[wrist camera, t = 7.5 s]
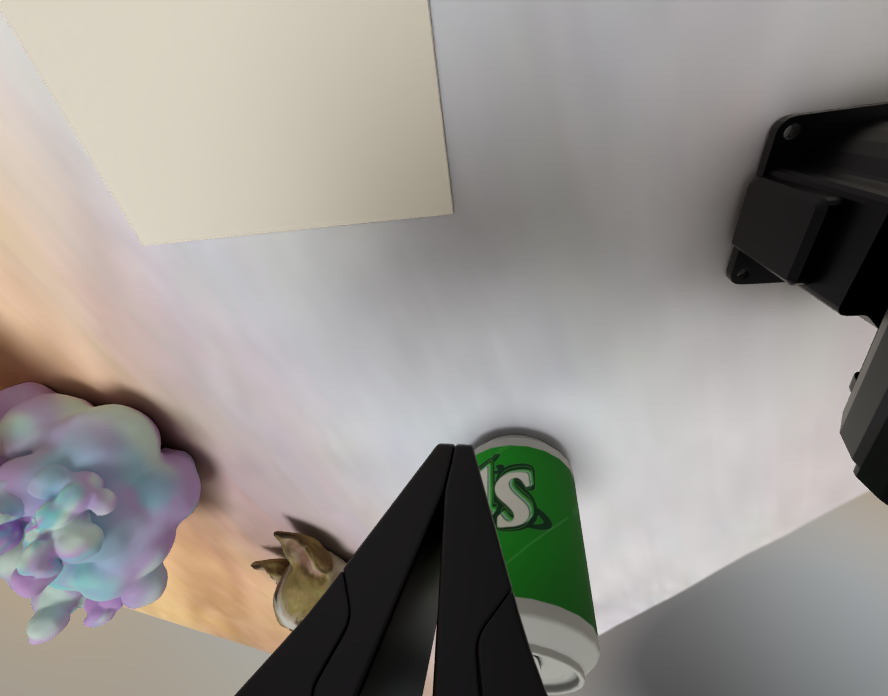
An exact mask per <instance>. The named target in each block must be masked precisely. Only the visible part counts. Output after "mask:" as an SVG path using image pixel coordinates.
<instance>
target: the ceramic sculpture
mask: <svg viewBox="0 0 888 696" xmlns="http://www.w3.org/2000/svg"><path fill="white" fill-rule="evenodd" d="M274 536H275V537H276V539H278V540H279V542H280V543H281V545H282V549H283V554H284V556H285V558H286V559H268V560H262V561H256V562H254V563H252V564H251V567H253V568H254V569H256V570H265V571H266V572H267V573H268V574H269V575H270V577H271V578H272V579H274V580H276V584H277V587H276V590H275V593H274V597H273V607H274V611H275V615H276V618H277V621H278V622H279V624H280V625H281V626H282V627H285V628H289V630H290V631H293V630H294V629H295V628H296V627H297V626H298V624H299V623H300V622H301V621H302V620H303V619H304V618H305V616H306V615H307V614H308V613H309V612H310V610H311V609H312V608H313V607H314V605H315V604H316V603H317V602H318V600H319V599H320V598H321V597H322V595H323V594H324V593H325V592H326V590H327V589H328V588H329V586H330V585H331V584H332V582H333V581H334V580H335V578H336V577H337V576H338V574H339V573H340V572H342V571H343V572H344V570H343V569H344V567H345V566H346V564H347V563H346V562H345V561H343V560H342V559H341V558H340V557H338V556H337V555H335V554H334V553H332V552H330V551H328V550H326V549H325V548H324V547H323V546H322V544H321V543H320V542H319V541H318V540H317V539H315V538H313V537H311V536H308V535H304V534H300V533H291V532H283V531H276V532H274Z"/></svg>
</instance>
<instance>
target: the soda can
mask: <svg viewBox="0 0 888 696" xmlns="http://www.w3.org/2000/svg"><path fill="white" fill-rule="evenodd" d="M474 452H475V455H476V459H477V462H478V466H479V470H480V473H481V477H482V481H483V484H484V488H485V491H486V495H487V499H488V502H489V506H490V509H491V513H492V517H493V520H494V524H495V527H496V531H497V535H498V538H499V542H500V545H501V549H502V553H503V556H504V560H505V563H506V567H507V571H508V574H509V578H510V581H511V585H512V590H513V593H514V595H515V599H516V602H517V606H518V610H519V613H520V617H521V620H522V623H523V626H524V630H525V633H526V636H527V639H528V643H529V646H530V649H531V652H532V654H533V657H534V660H535V663H536V665H537V668H538V671H539V673H540V676H541V679H542V681H543V684H544V687H545V689H546V692H547V694H548V695H561V694H566V693H571V692H575V691H577V690H578V689H580V688H582V687H583V684H584V682H585V676H586V675H587V674H588V673H589V671H591V669H592V668H593V667H594V666H595V665H596V663H597V661H598V658H599V655H600V647H599V640H598V633H597V627H596V620H595V614H594V607H593V601H592V594H591V587H590V581H589V574H588V568H587V561H586V555H585V548H584V542H583V535H582V528H581V522H580V515H579V509H578V502H577V496H576V489H575V482H574V476H573V472H572V469H571V467H570V464H569V462H568V460H567V459H566V458H565V457H564V456H563V455H562V454H561V453H560V452H559V451H557V450H556V449H554V448H552V447H550V446H549V445H548V444H546V443H544V442H543V441H541V440H539V439H537V438H533V437H529V436H526V435H505V436H499V437H496V438H494V439H492V440H490V441H488V442H486V443H485V444H483V445H481V446H479V447H477V448H476V449H475V450H474Z"/></svg>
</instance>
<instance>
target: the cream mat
mask: <svg viewBox="0 0 888 696" xmlns="http://www.w3.org/2000/svg"><path fill="white" fill-rule="evenodd" d="M0 10H1V12H2V14H3V15H4V17H5V18H6V20H7V22H8V23H9V25H10V27H11V28H12V30H13V32H14V33H15V35H16V37H17V38H18V40H19V42H20V43H21V45H22V47H23V48H24V50H25V52H26V53H27V55H28V57H29V58H30V60H31V62H32V63H33V65H34V67H35V68H36V70H37V72H38V73H39V75H40V77H41V78H42V80H43V81H44V83H45V85H46V86H47V88H48V90H49V91H50V93H51V95H52V96H53V98H54V100H55V101H56V103H57V105H58V106H59V108H60V110H61V111H62V113H63V115H64V116H65V118H66V120H67V121H68V123H69V125H70V126H71V128H72V130H73V131H74V133H75V135H76V136H77V138H78V140H79V141H80V143H81V144H82V146H83V148H84V149H85V151H86V153H87V154H88V156H89V158H90V159H91V161H92V163H93V164H94V166H95V168H96V169H97V171H98V173H99V174H100V176H101V178H102V179H103V181H104V183H105V184H106V186H107V188H108V189H109V191H110V193H111V194H112V196H113V198H114V199H115V201H116V203H117V204H118V206H119V207H120V209H121V211H122V212H123V214H124V216H125V217H126V219H127V221H128V222H129V224H130V226H131V227H132V229H133V231H134V232H135V234H136V236H137V237H138V239H139V241H140V242H141V244H142V246H144V245H154V244H164V243H174V242H184V241H193V240H203V239H213V238H223V237H233V236H243V235H253V234H263V233H272V232H282V231H292V230H302V229H312V228H322V227H332V226H342V225H351V224H361V223H371V222H381V221H391V220H401V219H411V218H421V217H430V216H440V215H450V214H453V213H454V211H453V202H452V194H451V185H450V177H449V169H448V160H447V152H446V143H445V135H444V126H443V118H442V109H441V101H440V92H439V84H438V75H437V67H436V58H435V50H434V41H433V33H432V24H431V16H430V7H429V0H0Z"/></svg>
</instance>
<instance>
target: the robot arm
mask: <svg viewBox="0 0 888 696" xmlns="http://www.w3.org/2000/svg"><path fill="white" fill-rule="evenodd" d="M792 124H793V125H794V130H793V132H792V133H791V135H789V136H788V137H787V138H784V137H783V136H784V131H785V130H786V128H787V127H789V126H790V125H792ZM732 244H733V245H734V246H735V247H734V250H733V253H732V257H731V260H730V263H729V266H728V269H727V277H728V278H729V279H730V280H731V281H732V282H734V283H735V284H758V283H777V282H786V283H788V284H789V285H798V286H799V287H801V288H802V289H804V290H805V291H806V292H808V293H809V294H811V295H812V296H814V297H815V298H817V299H818V300H820V301H821V302H823V303H824V304H826V305H827V306H829V307H830V308H832V309H833V310H835V311H836V312H838V313H839V314H840V315H844V316H859V317H861V318H863V319H864V320H866V321H867V322H869V323H870V324H872V325H873V326H875V327H876V328H878V330H877V333H876V335H875V337H874V340H873V342H872V344H871V347H870V349H869V351H868V354H867V356H866V358H865V361H864V363H863V365H862V368H861V370H860V372H856V373H855V374H854V376H853V378H852V380H851V383H850V385H849V388H850V390H851V395H850V397H849V399H848V401H847V404H846V406H845V408H844V411H843V415H842V421H841V428H840V434H841V436H842V439H843V441H844V443H845V445H846V447H847V449H848V451H849V453H850V456H851V458H852V459H853V461H854V462H855V463H856V466H855V467H854V471H853V472H854V474H855V476H856V477H857V478H858V479H859V480H860V481H861V482H862V483H863V484H864V485H865V486H866V487H867V488H868V489H869V490H870V491H871V492H872V493H873V494H874V495H875V496H877V498H879V499H880V500H881V501H882V502H884V503H885V504H887V505H888V102H884V103H877V104H869V105H862V106H854V107H847V108H839V109H832V110H824V111H817V112H809V113H802V114H794V115H789V116H786V117H783V118H782V119H780V120H779V121H777V123H776V124H775V125H774V126H773V127H772V129H771V131H770V134H769V137H768V140H767V143H766V147H765V150H764V153H763V156H762V159H761V163H760V166H759V169H758V172H757V176H756V178H755V179H754V180H753V181H752V182H751V183H750V184H749V187H748V191H747V194H746V197H745V200H744V204H743V207H742V210H741V214H740V217H739V220H738V224H737V227H736V230H735V233H734V237H733V240H732ZM742 269H746V271H745V273H743V274H742V275H739V276H737V274H738V273H739V271H741V270H742ZM343 570H344V572H343V571H342V572H340V573H339V574H338V576H337V577H336V578H335V580H334V581H333V582H332V584H331V585H330V586H329V588H328V589H327V590H326V592H325V593H324V594H323V595H322V597H321V598H320V599H319V600H318V602H317V603H316V604H315V605H314V607H313V608H312V609H311V610H310V612H309V613H308V614H307V615H306V616H305V618H304V619H303V620H302V621H301V622H300V623H299V624H298V626H297V627H296V628H295V629H294V630H293V631H292V632H291V634H290V635H289V636H288V637H287V638H286V639H285V640H284V642H283V643H282V644H281V645H280V646H279V647H278V648H277V649H276V650H275V651H274V653H273V654H272V655H271V656H270V657H269V658H268V659H267V660H266V661H265V663H264V664H263V665H262V666H261V667H260V668H259V669H258V670H257V671H256V672H255V674H254V675H253V676H252V677H251V678H250V679H249V680H248V681H247V682H246V683H245V684H244V686H243V687H242V688H241V689H240V690H239V691H238V692H237V693H236V695H235V696H422V695H423V690H424V685H425V680H426V675H427V670H428V665H429V660H430V655H431V650H432V645H433V640H434V635H435V630H436V625H437V630H436V647H435V664H434V681H433V696H548V694H547V692H546V689H545V687H544V684H543V681H542V679H541V676H540V673H539V671H538V668H537V665H536V663H535V660H534V657H533V654H532V652H531V649H530V646H529V643H528V639H527V636H526V633H525V630H524V626H523V623H522V620H521V617H520V613H519V610H518V606H517V602H516V599H515V595H514V593H513V590H512V585H511V581H510V578H509V574H508V571H507V567H506V563H505V560H504V556H503V553H502V549H501V545H500V542H499V538H498V535H497V531H496V527H495V524H494V520H493V517H492V513H491V509H490V506H489V502H488V499H487V495H486V491H485V488H484V484H483V481H482V477H481V473H480V470H479V466H478V462H477V459H476V455H475V452H474V448H473V446H472V445H465V444H457V445H456V446H455V445H454V444H438V445H437V446H436V447H435V448H434V450H433V451H432V452H431V454H430V455H429V456H428V458H427V459H426V460H425V462H424V463H423V464H422V466H421V467H420V468H419V470H418V471H417V472H416V473H415V475H414V476H413V477H412V479H411V480H410V481H409V483H408V484H407V485H406V487H405V488H404V489H403V491H402V492H401V493H400V495H399V496H398V497H397V498H396V500H395V501H394V502H393V504H392V505H391V506H390V508H389V509H388V510H387V512H386V513H385V514H384V516H383V517H382V518H381V520H380V521H379V522H378V523H377V525H376V526H375V527H374V529H373V530H372V531H371V533H370V534H369V535H368V537H367V538H366V539H365V541H364V542H363V543H362V545H361V546H360V547H359V548H358V550H357V551H356V552H355V554H354V555H353V556H352V558H351V559H350V560H349V562H348V563H347V564H346V566H345V567H344V569H343Z"/></svg>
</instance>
